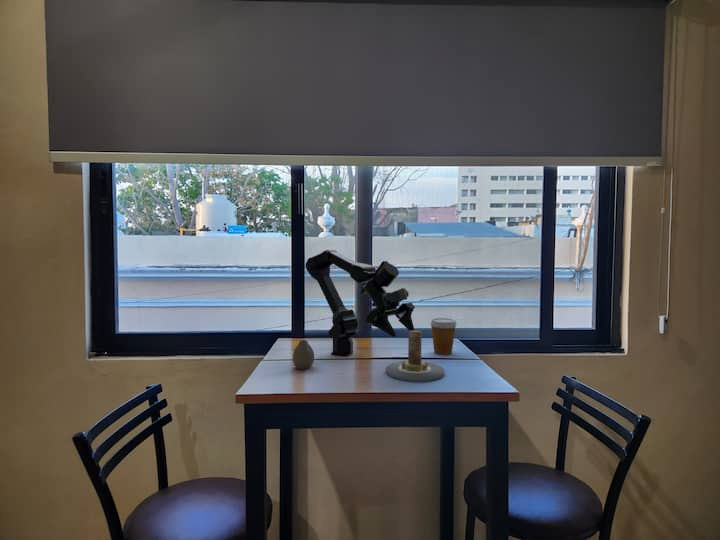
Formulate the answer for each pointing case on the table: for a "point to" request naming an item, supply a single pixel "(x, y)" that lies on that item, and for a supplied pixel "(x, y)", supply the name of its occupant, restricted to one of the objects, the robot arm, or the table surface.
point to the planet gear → (414, 353)
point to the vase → (303, 355)
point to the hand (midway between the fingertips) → (404, 334)
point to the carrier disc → (415, 373)
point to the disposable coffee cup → (443, 335)
